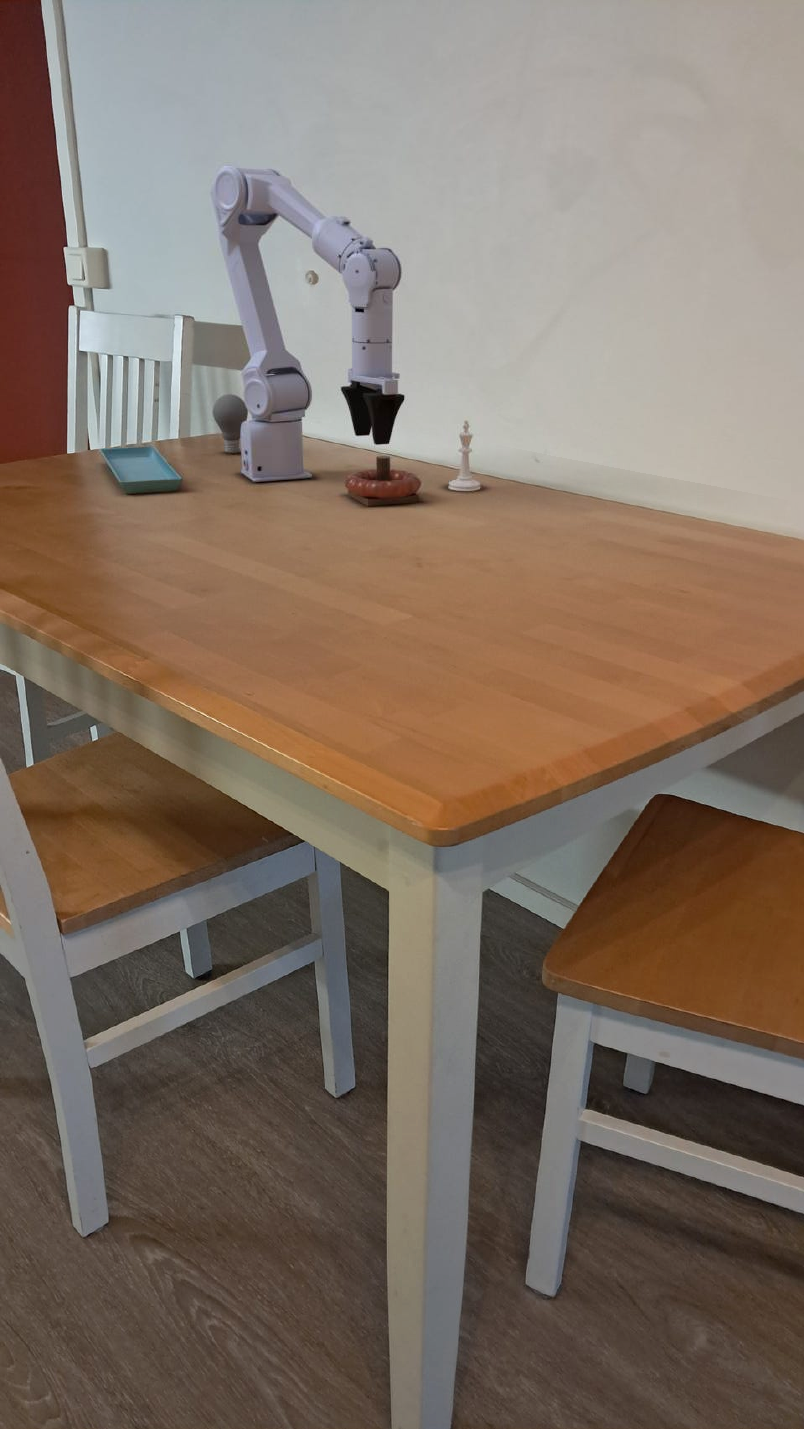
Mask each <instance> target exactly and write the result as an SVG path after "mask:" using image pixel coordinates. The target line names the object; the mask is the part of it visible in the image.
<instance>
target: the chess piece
mask: <svg viewBox="0 0 804 1429" xmlns="http://www.w3.org/2000/svg"><path fill="white" fill-rule="evenodd" d="M469 428H470V423H469V420H467V419H465V420H464V425H463V427H462V429H463V430H464V431H463V432H460V433H459V434H458V436H459V439H460V443H461V448H460V447H459V449H458V453H461V462H460V468H459V474H458V475H457V476H456V478H457V479H453V480H451V481H449V482H448V486H447V487H448V489H449V490H451V491H457V492H474V491H479V490H480V489H481V488H482V487H481V483H480V481H478V480H475V479H473V476H472V475H471V468H470V456H469V453H473V449H472V448H470V445H471V442H472V439H473V436H474V435H473V433H472V432H469Z"/></svg>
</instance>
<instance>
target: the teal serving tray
mask: <svg viewBox="0 0 804 1429" xmlns="http://www.w3.org/2000/svg"><path fill="white" fill-rule="evenodd" d="M99 453H100V454H101V456H102V457H103V459H104V461H105V463H106V464H107V466H108V468H109V470H110V471H111V473H112V474H113V476H114V477H115V479H116V480H117V482H118V484H119V485H120V487H121V489H122V490H123V491H124V493H125V494H127V495H130V494H133V495H134V494H145V493H146V494H148V493H165V492H166V493H168V492H176V491H177V490H178V488H179V486H180V484H181V482H182V480H183V478H182V476H181V475H179V473H178V472H177V471H176V470H175V469H174V468H173V467H172V465H171V464H170V462H168V461H167V459H166V458H165V457H164V456H163V455H162V453H161V452H160V451H159V450H158V449H157V447H156V446H154V445H147V446H145V445H144V446H128V447H127V446H126V447H111V448H100V449H99Z"/></svg>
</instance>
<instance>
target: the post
mask: <svg viewBox="0 0 804 1429" xmlns="http://www.w3.org/2000/svg"><path fill="white" fill-rule="evenodd" d="M375 458H376V462H375V464H376V467H375V469H376V481H390V469H391V456H390V455H378V456H376V457H375ZM347 495H348V496H349V497H351V498H352V499H354V500H356V501H357V502H359V503H360V504H363V505H364V506H366V507H377V506H389V505H390V506H391V505H401V504H410V503H411V504H413V503H420V494H418V493H417V492H416V493H415V494H412V495H409V496H405V497H398V498H368V497H363V496H358V495H355V494H353V493H351V492H350V491H348V490H347Z"/></svg>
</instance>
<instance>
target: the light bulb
mask: <svg viewBox="0 0 804 1429" xmlns="http://www.w3.org/2000/svg"><path fill="white" fill-rule="evenodd" d="M212 415H213V419H214V421H215V423H216V424H217V426H218V427H219V430H220V432H221V436H222V438H223V440H224V446H225V447H224V451H225V452H226V453H228V454H230V455H235V454H237V453H238V452H241V447H240V445H241V442H240V440H241V425H242V423H243V422H244V421H248V415H249V411H248V410H247V408H246V406H245V403H244V399H242V398H241V397H240V396H238V395H235V394H231V393H227V394H223V395H221V396H220V397H219V398H218V399H217V400H216V401H215V402H214V405H213V407H212Z"/></svg>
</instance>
